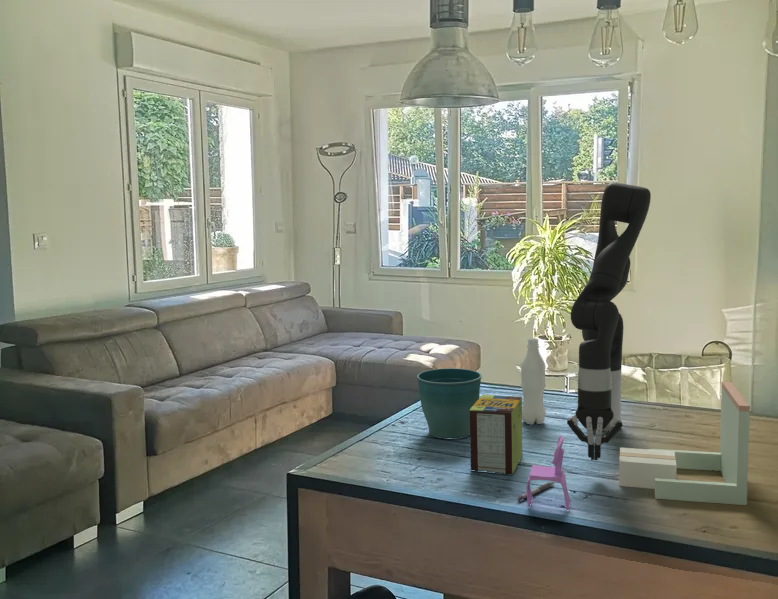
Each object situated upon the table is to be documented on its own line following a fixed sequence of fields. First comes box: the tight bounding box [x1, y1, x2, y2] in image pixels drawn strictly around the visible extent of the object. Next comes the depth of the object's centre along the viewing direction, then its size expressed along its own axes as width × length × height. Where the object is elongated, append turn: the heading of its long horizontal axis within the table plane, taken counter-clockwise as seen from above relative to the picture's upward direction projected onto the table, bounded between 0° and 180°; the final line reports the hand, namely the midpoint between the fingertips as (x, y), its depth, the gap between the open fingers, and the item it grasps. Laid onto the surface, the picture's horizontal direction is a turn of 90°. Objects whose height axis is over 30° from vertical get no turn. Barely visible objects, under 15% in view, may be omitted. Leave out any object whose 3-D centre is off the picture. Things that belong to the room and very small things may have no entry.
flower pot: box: [416, 367, 483, 439], centre depth 208 cm, size 18×18×17 cm
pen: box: [516, 481, 555, 501], centre depth 163 cm, size 1×14×1 cm, turn 134°
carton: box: [618, 447, 678, 490], centre depth 169 cm, size 12×10×6 cm
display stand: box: [648, 381, 751, 506], centre depth 165 cm, size 18×22×21 cm
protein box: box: [469, 394, 523, 475], centre depth 182 cm, size 10×15×16 cm
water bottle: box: [520, 338, 547, 426], centre depth 216 cm, size 7×7×25 cm
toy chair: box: [525, 435, 571, 511], centre depth 156 cm, size 8×9×15 cm
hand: (594, 459), depth 171 cm, fingers closed
